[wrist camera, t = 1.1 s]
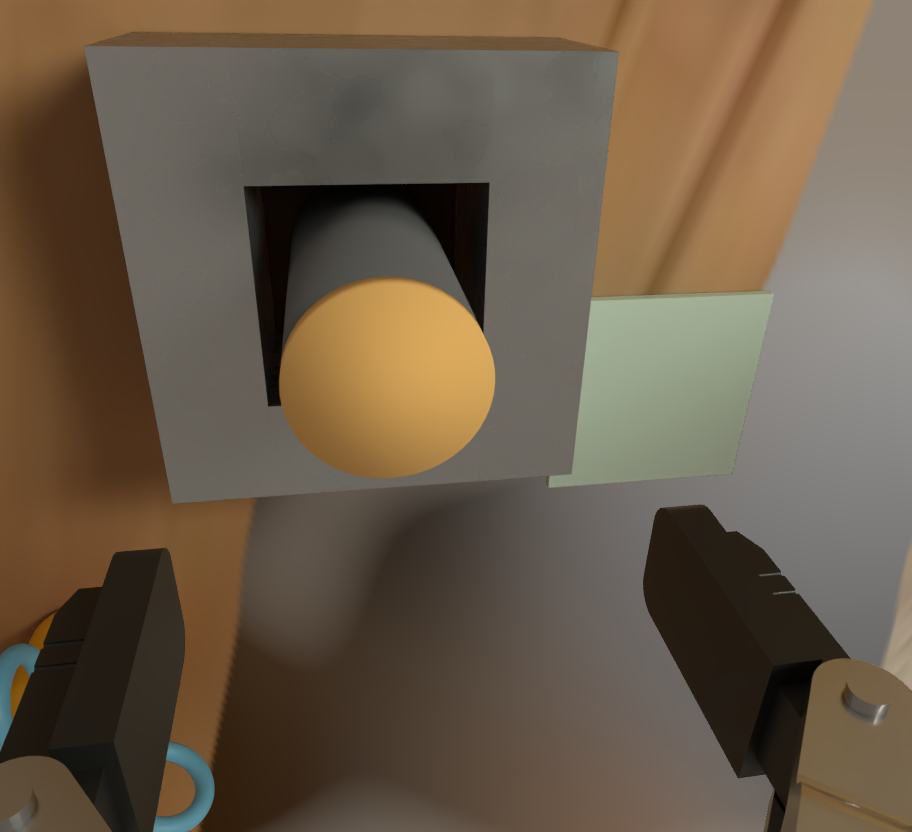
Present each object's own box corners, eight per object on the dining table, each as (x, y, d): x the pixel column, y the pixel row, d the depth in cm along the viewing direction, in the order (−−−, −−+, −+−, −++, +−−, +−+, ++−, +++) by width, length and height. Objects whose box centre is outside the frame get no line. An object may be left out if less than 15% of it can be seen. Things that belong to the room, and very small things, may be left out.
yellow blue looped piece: (-75, 569, 33) (-326, 951, 20) (174, 524, 34) (87, 862, 21) (35, 753, 39) (-103, 1136, 26) (243, 711, 40) (209, 1061, 27)
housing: (559, 37, 27) (618, 51, 21) (531, 398, 33) (571, 474, 28) (132, 32, 25) (84, 45, 19) (195, 417, 31) (172, 503, 26)
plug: (432, 170, 28) (500, 281, 18) (431, 305, 31) (491, 471, 20) (285, 172, 27) (268, 289, 17) (297, 310, 30) (288, 485, 20)
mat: (769, 290, 33) (774, 293, 32) (728, 469, 37) (732, 473, 37) (563, 298, 31) (566, 301, 31) (546, 482, 36) (548, 487, 35)
